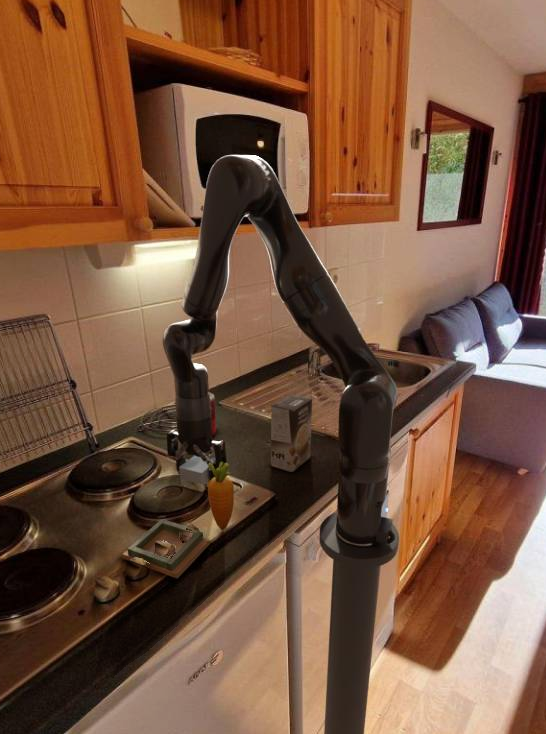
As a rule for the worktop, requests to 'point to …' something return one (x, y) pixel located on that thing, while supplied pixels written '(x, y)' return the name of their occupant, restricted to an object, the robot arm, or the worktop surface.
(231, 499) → the carrot
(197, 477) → the light gray block
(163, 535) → the dock pad
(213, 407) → the canned food
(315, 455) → the worktop surface
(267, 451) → the worktop surface
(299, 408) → the coffee box
